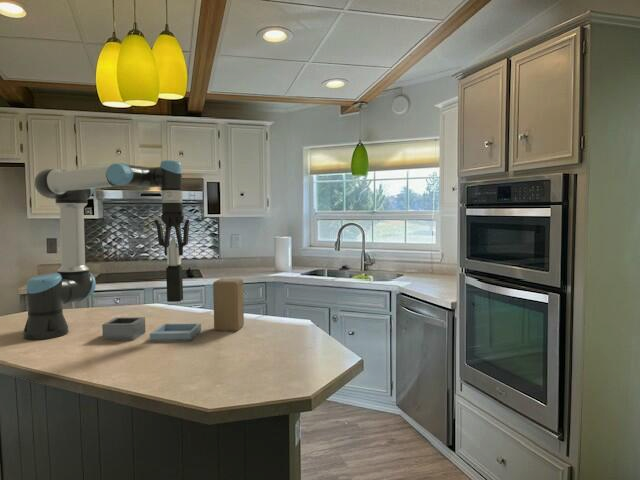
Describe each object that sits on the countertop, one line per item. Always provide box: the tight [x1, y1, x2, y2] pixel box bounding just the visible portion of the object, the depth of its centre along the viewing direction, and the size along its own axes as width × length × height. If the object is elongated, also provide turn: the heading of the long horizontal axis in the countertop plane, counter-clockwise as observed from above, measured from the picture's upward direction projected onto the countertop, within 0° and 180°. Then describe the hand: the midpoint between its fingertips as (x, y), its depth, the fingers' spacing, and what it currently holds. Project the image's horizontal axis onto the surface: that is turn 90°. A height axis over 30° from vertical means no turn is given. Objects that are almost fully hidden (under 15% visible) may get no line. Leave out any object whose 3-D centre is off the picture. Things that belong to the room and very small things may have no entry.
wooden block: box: [212, 277, 245, 332], centre depth 186 cm, size 10×10×20 cm
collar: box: [101, 316, 146, 342], centre depth 176 cm, size 12×12×6 cm
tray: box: [149, 322, 202, 343], centre depth 176 cm, size 15×15×3 cm
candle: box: [165, 234, 184, 303], centre depth 174 cm, size 5×5×25 cm
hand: (174, 264), depth 174 cm, fingers closed on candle, 3 cm apart
